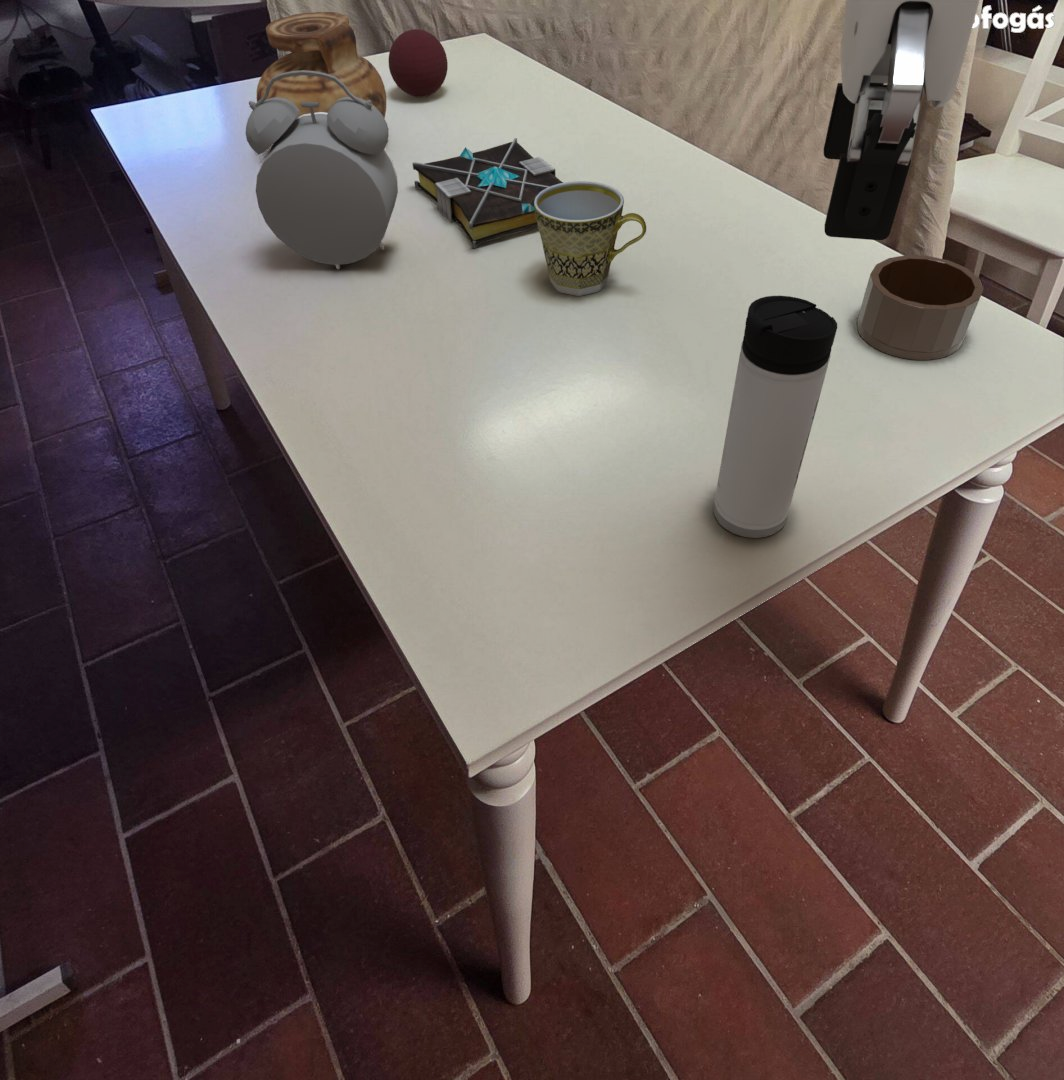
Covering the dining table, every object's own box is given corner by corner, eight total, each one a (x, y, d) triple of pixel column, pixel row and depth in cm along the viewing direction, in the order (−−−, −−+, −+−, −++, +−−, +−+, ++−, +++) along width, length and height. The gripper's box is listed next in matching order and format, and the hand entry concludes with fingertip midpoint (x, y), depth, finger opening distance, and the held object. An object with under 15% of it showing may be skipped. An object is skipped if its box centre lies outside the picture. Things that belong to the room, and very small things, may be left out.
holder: (983, 334, 88) (1004, 284, 84) (921, 372, 84) (940, 321, 80) (898, 294, 95) (913, 244, 90) (836, 328, 90) (849, 277, 86)
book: (589, 219, 110) (589, 182, 106) (473, 251, 105) (469, 213, 102) (518, 161, 123) (516, 126, 120) (413, 187, 119) (408, 151, 115)
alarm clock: (413, 243, 107) (385, 55, 91) (400, 277, 101) (368, 83, 85) (290, 242, 109) (241, 57, 93) (271, 276, 103) (215, 84, 87)
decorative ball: (454, 102, 141) (448, 36, 134) (396, 108, 140) (386, 42, 133) (446, 82, 148) (439, 18, 141) (390, 88, 147) (381, 24, 139)
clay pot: (229, 149, 123) (226, -9, 114) (314, 154, 138) (317, 15, 129) (329, 169, 116) (334, 3, 107) (407, 173, 131) (417, 27, 122)
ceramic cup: (523, 294, 98) (519, 212, 90) (556, 255, 104) (555, 175, 96) (627, 315, 94) (631, 231, 86) (655, 273, 100) (661, 191, 92)
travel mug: (695, 503, 73) (726, 300, 58) (758, 480, 74) (803, 277, 60) (736, 550, 69) (780, 345, 54) (801, 524, 70) (861, 319, 56)
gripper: (1107, -197, 27) (938, 279, 40) (1021, -245, 38) (911, 136, 51) (868, -193, 28) (778, 266, 41) (853, -240, 40) (786, 130, 52)
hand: (852, 194), depth 46 cm, fingers open, 9 cm apart
